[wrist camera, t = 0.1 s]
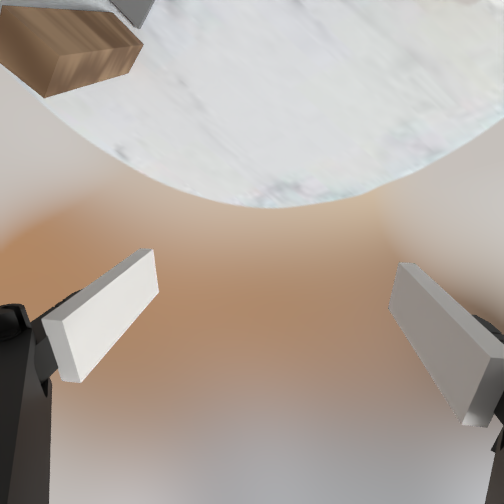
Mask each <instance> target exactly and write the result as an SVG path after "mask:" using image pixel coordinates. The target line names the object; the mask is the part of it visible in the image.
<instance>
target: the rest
mask: <svg viewBox="0 0 504 504" xmlns="http://www.w3.org/2000/svg"><path fill="white" fill-rule="evenodd" d="M111 1H112V2H113V3H114V4H115V6H116V7H117V8H118V9H119V10H120V11H121V12H122V13H123V14H124V15H125V16H126V17H127V18H128V19H129V20H130V21H131V22H132V23H133V24H134V25H135V26H136V27H137V28H138V29H140V28H141V26H142V24H143V22H144V20H145V19H146V17H147V15H148V13H149V11H150V9H151V7H152V5H153V3H154V1H155V0H111Z"/></svg>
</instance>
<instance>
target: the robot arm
mask: <svg viewBox="0 0 504 504" xmlns="http://www.w3.org/2000/svg"><path fill="white" fill-rule="evenodd" d="M158 292H159V290H158V282H157V275H156V269H155V260H154V253H153V249H141V248H140V249H139V250H137V251H136V252H134V253H133V254H132V255H130V256H129V257H127V258H126V259H125V260H123V261H122V262H120V263H119V264H118V265H116V266H115V267H113V268H112V269H111V270H109V271H108V272H106V273H105V274H104V275H102V276H101V277H99V278H98V279H97V280H95V281H94V282H92V283H91V284H90V285H88V286H87V287H85V288H84V289H81V290H79V291H77V292H74V293H72V294H71V295H69V296H68V297H66V298H65V299H63V301H61V302H59V303H58V304H56V305H55V307H52V308H51V309H49V310H48V311H46V312H45V313H44V314H42V315H40V316H39V317H38V318H36V319H35V320H33V321H32V322H30V321H29V318H28V315H27V313H26V310H25V307H24V305H22V304H7V305H1V306H0V504H49V481H50V480H49V479H50V443H51V442H50V441H51V404H52V383H51V380H50V376H51V375H52V374H53V373H54V372H55V371H56V370H57V369H58V371H59V374H60V377H61V380H62V381H68V382H78V383H81V382H82V381H83V380H84V379H85V378H86V376H87V375H88V374H89V373H90V372H91V371H92V369H93V368H94V367H95V366H96V365H97V364H98V362H99V361H100V360H101V359H102V358H103V356H104V355H105V354H106V353H107V352H108V351H109V350H110V348H111V347H112V346H113V345H114V344H115V343H116V341H117V340H118V339H119V338H120V337H121V336H122V334H123V333H124V332H125V331H126V330H127V329H128V327H129V326H130V325H131V324H132V323H133V322H134V320H135V319H136V318H137V317H138V316H139V315H140V313H141V312H142V311H143V310H144V309H145V308H146V306H147V305H148V304H149V303H150V302H151V301H152V299H153V298H154V297H155V296H156V295H157V294H158ZM388 309H389V311H390V312H391V313H392V315H393V317H394V318H395V320H396V322H397V323H398V325H399V326H400V328H401V330H402V331H403V333H404V334H405V336H406V338H407V339H408V341H409V342H410V344H411V345H412V347H413V349H414V350H415V351H416V353H417V355H418V357H419V358H420V360H421V361H422V363H423V364H424V366H425V368H426V369H427V371H428V372H429V374H430V376H431V377H432V379H433V380H434V382H435V384H436V385H437V387H438V388H439V390H440V392H441V393H442V395H443V396H444V398H445V399H446V401H447V402H448V404H449V406H450V407H451V409H452V410H453V412H454V414H455V415H456V417H457V419H458V420H459V421H460V423H461V425H468V426H477V427H488V425H489V423H490V421H491V419H492V417H493V415H494V414H495V415H496V416H497V418H498V419H499V420H500V422H501V423H502V424H503V425H504V335H502V334H501V332H500V331H499V330H498V329H496V328H495V327H494V326H493V325H492V324H491V323H489V322H487V321H485V320H484V319H482V318H480V317H478V316H477V315H471V314H470V313H468V312H467V311H466V310H465V309H464V308H463V307H462V306H461V305H460V304H459V303H458V302H456V301H455V300H454V299H453V298H452V297H451V296H450V295H449V294H448V293H447V292H446V291H444V290H443V289H442V288H441V287H440V286H439V285H438V284H437V283H436V282H435V281H434V280H433V279H431V278H430V277H429V276H428V275H427V274H426V273H425V272H424V271H423V270H422V269H420V268H419V267H418V266H417V265H416V264H415V263H400V262H399V264H398V268H397V272H396V277H395V281H394V285H393V290H392V294H391V298H390V302H389V307H388ZM491 451H493V452H495V457H494V462H493V467H492V472H491V477H490V482H489V486H488V491H487V496H486V501H485V504H504V426H503V428H502V430H501V432H500V433H499V435H498V437H497V439H496V441H495V443H494V445H493V447H492V449H491Z"/></svg>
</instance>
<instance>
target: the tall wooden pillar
mask: <svg viewBox="0 0 504 504" xmlns="http://www.w3.org/2000/svg"><path fill="white" fill-rule="evenodd" d="M143 45H144V44H143V43H142V42H141V41H140V40H139V39H138V38H137V37H136V36H135V35H134V34H133V33H132V32H131V31H130V30H129V29H128V28H127V27H126V26H125V25H124V24H123V23H122V22H121V21H120V20H119V19H118V18H117V17H116V16H115V15H114V14H113V13H111V12H96V11H81V10H65V9H50V8H35V7H20V6H4V5H2V9H1V14H0V63H1V64H2V65H3V66H5V67H6V68H7V69H8V70H10V71H11V72H12V73H13V74H15V75H16V76H17V77H18V78H20V79H21V80H22V81H23V82H25V83H26V84H27V85H28V86H30V87H31V88H32V89H33V90H35V91H36V92H37V93H38V94H40V95H41V96H42V97H43V98H46V97H50V96H53V95H57V94H60V93H63V92H67V91H70V90H73V89H77V88H80V87H83V86H87V85H90V84H94V83H97V82H100V81H104V80H107V79H110V78H114V77H117V76H120V75H124V74H127V73H129V71H130V69H131V67H132V65H133V63H134V62H135V60H136V58H137V56H138V54H139V52H140V50H141V49H142V47H143Z"/></svg>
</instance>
